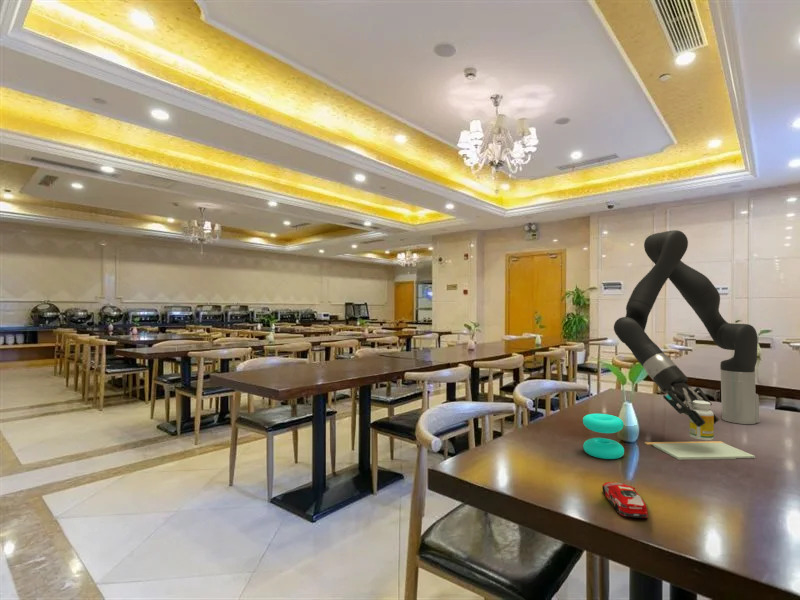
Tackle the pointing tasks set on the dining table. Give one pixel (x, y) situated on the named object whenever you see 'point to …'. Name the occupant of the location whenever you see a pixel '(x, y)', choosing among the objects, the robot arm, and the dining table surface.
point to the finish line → (683, 442)
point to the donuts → (603, 445)
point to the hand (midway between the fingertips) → (708, 423)
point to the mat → (702, 451)
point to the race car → (625, 500)
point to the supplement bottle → (708, 416)
